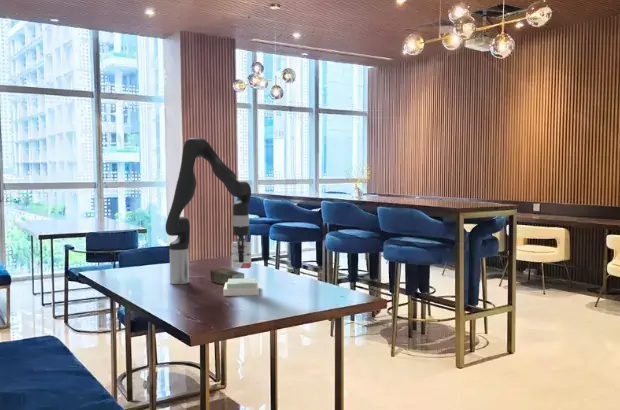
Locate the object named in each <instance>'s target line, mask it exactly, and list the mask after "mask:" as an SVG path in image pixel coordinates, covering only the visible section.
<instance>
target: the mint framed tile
mask: <svg viewBox="0 0 620 410" xmlns="http://www.w3.org/2000/svg"><path fill="white" fill-rule="evenodd" d="M223 286H224V287H223V295H222V296H223V297H229V296H231V297H233V296H234V297H235V296H236V297H238V296H239V297H240V295H241V296H260V282H259V281H257V278H255V277H253V278H252V277H251V278H249V277H248V278H246V277H244V278H242V279H228V282H225V285H223Z"/></svg>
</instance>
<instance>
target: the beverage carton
mask: <svg viewBox="0 0 620 410" xmlns="http://www.w3.org/2000/svg"><path fill="white" fill-rule="evenodd" d="M209 273H210V282H212V283H215V284H219V285H223V286H225V282H228V279H242V278H245V273H243V272H241V271H240V272H239V271H236V270H232V269H227V268H216V269H211V270H210V272H209Z"/></svg>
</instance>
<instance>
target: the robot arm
mask: <svg viewBox="0 0 620 410" xmlns="http://www.w3.org/2000/svg"><path fill="white" fill-rule="evenodd" d="M197 158H203V159H204V160H206V161H207V163H209V166H210V167H211V170H212V172H213V174H214V176H215V177H216V178H217V179H218V180H219V181H221V182H222V183H223V184H224V186H225V188H226V189H227V191H228V192H229V194H230V195H231V196H233V197H235V198H237V201H236V202H234V203H233V205H232V210H233V211H232V216H233V217H232V235H233V236H234V237H236V236H237V237H238V238H236V242H237V249H238V254H239V262H244V249H245V244H244V246H243V243H245V242H247V241H246V238H245V236H249V235H250V217H249V205H250V202H251V196H252V188H251V185H250V183H248V182H247V181H238V179H237V174H236V173H235V172H234V171H233V170H232V169H231V168H230V167H229V166H228V165H227V164H226V163H225V162H224V161H223V160H222V159H221V158H220V157H219V155H218V154H217V153H216V151H215V150H214V149H213V147H212V146H211V145H210V143H209V142H208V141H207V140H206V139H205V138H202V137H191V138H187V139H186V140H185V142H184V144H183V148H182V153H181V162H180V163H181V164H180V168H179V173H178V177H177V178H178V179H177V181H176V185H175V191H174V195H173V199H172V203H171V206H170V209H169V212H168V216H167V218H166V222H165V233H166V234H167V235H168V236H170V237H176V239H175V240H173V241H172V242H170V243H169V283H170V284H171V285H172V284H173V285H183V284H189V281H190V277H189V275H190V272H189V270H190V269H189V265H190V263H189V244H190V235H191V234H190V233H191V225H190V220H189V219H188V217H186V216H181V214H182V212H183V211H184V209H185V207H186V206H188V204H189V203H191V201H192V199H193V198H194V196H195V192H196V187H197V179H196V174H195V170H194V168H195V163H196V159H197ZM240 249H242V251H239V250H240Z"/></svg>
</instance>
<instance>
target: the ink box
mask: <svg viewBox="0 0 620 410" xmlns="http://www.w3.org/2000/svg"><path fill="white" fill-rule="evenodd" d="M244 244H245V249H244V262H239V254H238V249H237V241H232V242H231V243H230V246H231V248H230V251H231V252H230V253H231V255H230V256H231V257H230V258H231V259H230V260H231V269H250V268H251V267H252V242H251V241H245V243H243V246H244ZM239 251H242V249H240V250H239Z"/></svg>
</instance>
